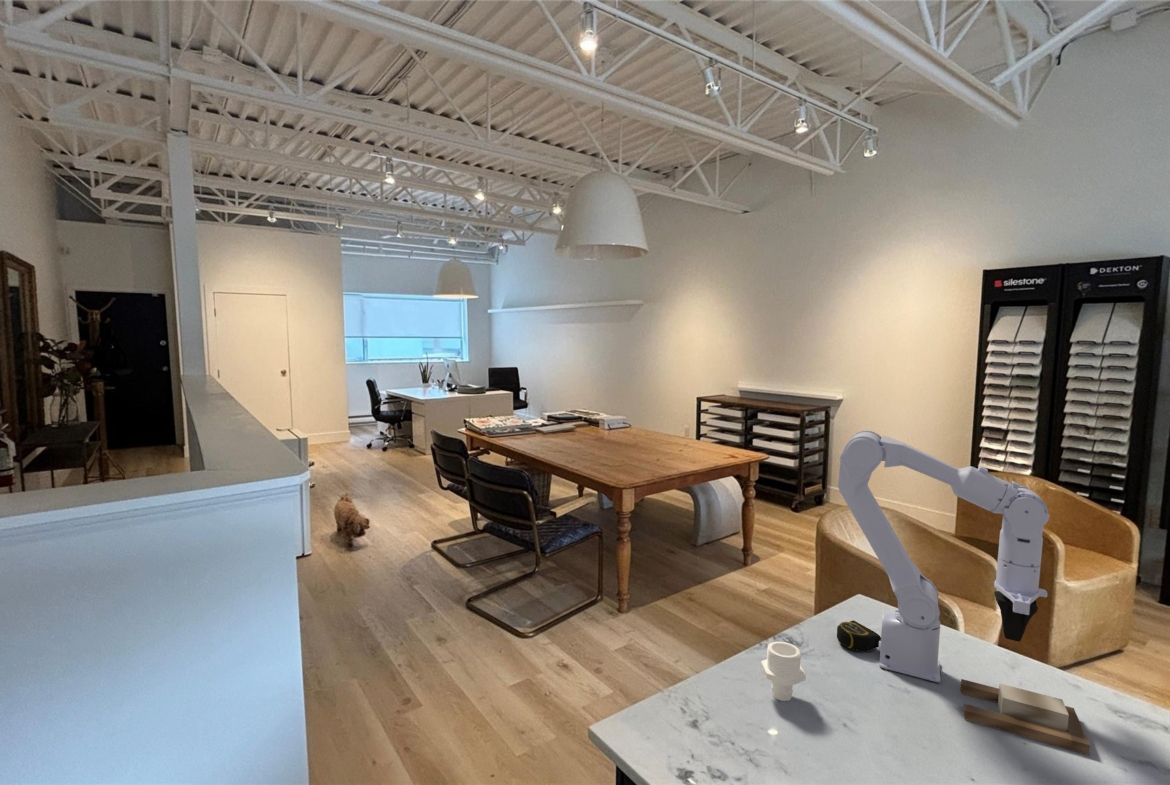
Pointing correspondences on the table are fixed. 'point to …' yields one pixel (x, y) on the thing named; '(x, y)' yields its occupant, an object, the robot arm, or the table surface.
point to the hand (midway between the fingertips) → (1012, 638)
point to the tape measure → (857, 636)
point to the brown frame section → (1023, 721)
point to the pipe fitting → (783, 669)
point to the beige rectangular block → (1033, 707)
